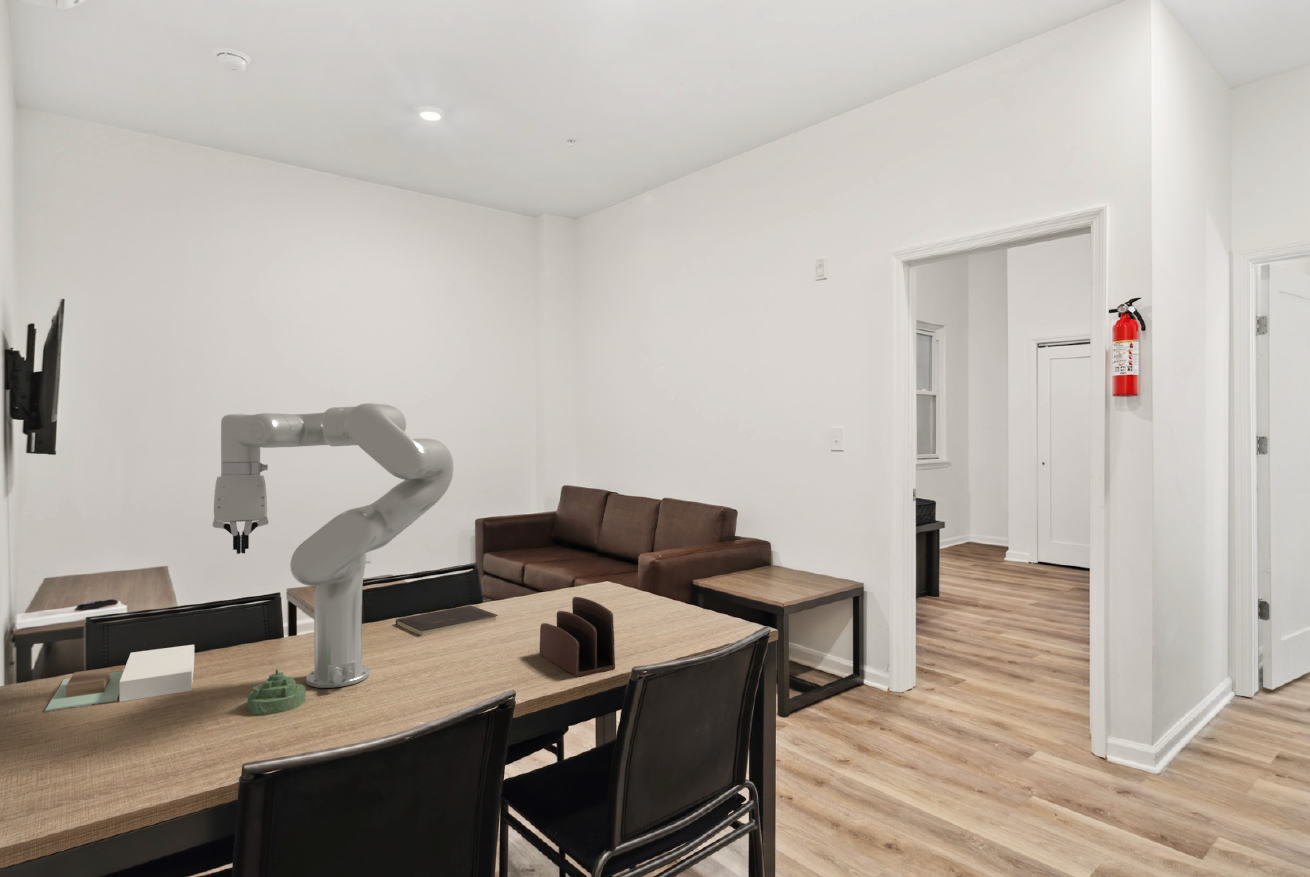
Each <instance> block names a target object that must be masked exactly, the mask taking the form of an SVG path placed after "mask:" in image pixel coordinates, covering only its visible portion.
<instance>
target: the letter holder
mask: <svg viewBox="0 0 1310 877" xmlns="http://www.w3.org/2000/svg"><path fill="white" fill-rule="evenodd" d="M571 600H572V604H571V605H572V606H571V608H572V612H570V611H566V610H558V611H557V612H556V625H553V624H551V623H546V622H542V623H540V628H539V655H540V656H542V657H544V658H545V659H547V660H548V661H550V662H552V663H553V664H555V665H557V666H558V667H560V668H562V669H563V670H565V671H566V672H568V673H570V674H572V675H573V676H575V677H576V678H581V677H584V676H585V675H586V676H590V674H591V675H595V674H599V673H605V672H609V671H614V670H615V668H616V660H615V659H616V657H615V656H616V655H615V654H616V653H615V630H614V614H613V612H612V611H611V610H609V609H608V608H606V607H605V606H604V605H602V604H601V603H598V602H596V601H593V600H591V599H588V598H586V597H580V596H573V597H572V599H571Z"/></svg>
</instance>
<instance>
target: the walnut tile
mask: <svg viewBox="0 0 1310 877" xmlns="http://www.w3.org/2000/svg"><path fill="white" fill-rule="evenodd" d="M110 673H111V667H105V668H104V667H103V668H97V669H89V670H82V671H75V672H73V674H72V676H71V677H70V678H71V679H70V680H69V682H68V683H67V685H66V698H68V697H75V696H82V695H89V694H95V693H102V692H104V691H105V689H106V687H107V685H108V683H109V680H110Z"/></svg>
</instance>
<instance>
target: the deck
mask: <svg viewBox="0 0 1310 877" xmlns="http://www.w3.org/2000/svg"><path fill="white" fill-rule="evenodd" d="M194 669H195V644H188V645H181V646H173V647H166V648H156V649H149V650H141V651H135V652H130V654H129V657H128V659H127V661H126V665H125V667H124V669H123V671H124V672H123V674H122V677H121V679H120V694H119V703H121V702H127V701H135V700H140V699H148V698H153V697H159V696H160V697H161V696H166V695H167V696H168V695H171V694H172V695H173V694H179V693H180V694H181V693H184V692H191V691H192V690H193V680H194Z"/></svg>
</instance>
